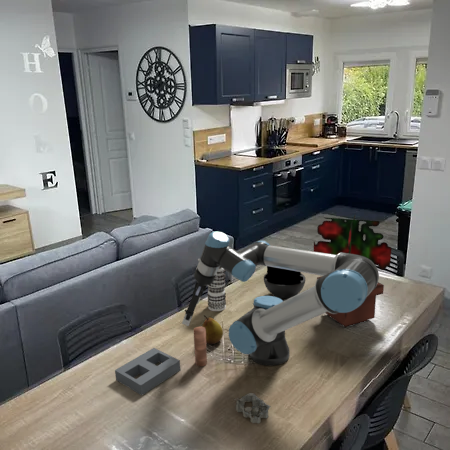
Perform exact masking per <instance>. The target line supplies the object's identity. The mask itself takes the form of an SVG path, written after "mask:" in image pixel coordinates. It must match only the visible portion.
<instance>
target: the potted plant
mask: <svg viewBox="0 0 450 450" xmlns="http://www.w3.org/2000/svg"><path fill="white" fill-rule="evenodd" d="M323 218H324V219H326V220H324V221H322V223H321V224H318V225H317V228H316V229H317V234H318V235H319V236H321V238H322V239H324V240H318V241H317V243H316V242H315V241H313V252H320V253H327V254H334V255H338V254H339V253H341V252H342V253H349V254H356V255H360V256H363V257H366V258H368V259H370V260H371V261H372V262H373V263H374V264H375V266H378V267H377V268H378V270H382V271H384V270H386V269H387V267H390V266H391V261H392V260H391V258H392V247H391V246H389V244H388V243H387V242H385V241H382V240H383V239H384V234H383V233H381V232H375V231H374V229H373V228H371V227H378V226H379V225H380V221H379V220H368V219H367V220H366V219H356V214H354V216H353V218H339V217H338V218H337V217H323ZM361 222H363V223H362V224H361V225H360V223H361ZM364 236H365V237H364ZM326 240H327V241H326ZM379 241H382V242H381V243H380V245H379ZM320 277H322V276H317V277H316V280H317V279H318V278H320ZM384 287H385V285H384V284H383V283H380V282H379V281H378V284H377V286H376V287H375V289H374V290H373V291H372V292H371V293H370V294H369V295H368V296H367V297H366V299H365V300H364V302H363V303H362V304H361V305H360V306H359V307H358V308H356V309H355V310H353V311H351V312H347V313H340V312H339V313H337V314H332V313H329V312H326V313H325V314H326V315H328V316H329V317H330V318H331V319H333V320H334V321H335V322H337V323H338V324H340V325H341V326H343V327H344V328H349V327H352V326H355V325H358V324H362V323H365V322H368V320H372V319H375V316H376V303H377V296H379V295H383V294H384Z"/></svg>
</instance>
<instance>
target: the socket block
mask: <svg viewBox="0 0 450 450" xmlns="http://www.w3.org/2000/svg"><path fill="white" fill-rule="evenodd" d="M158 363H159V365H157V364H158ZM180 371H181V360H180V359H178V358H176V357H173V356H171V355H170V354H167V353H166V352H164V351H162V350H160V349H157V348H156V347H153V348H151V349H149V350H148V351H145V352H144V353H142V354H141V355H139V356H137V357H135V358H133V359H132V360H130V361H129V362H127V363H125V364H123V365H121V366H120V367H118V368H117V369H115V370H114V374H115V381H117V382H119V383H120V384H122V385H124V386H126V387H127V388H129V389H130V390H131V391H133V392H135V393H137V394H138V395H140V396H143V395H145V394H146V393H148V392H149V391H151V390H152V389H153V388H155V387H157V386H159V385H160V384H161V383H163V382H164V381H166V380H168V379H169V378H170V377H172V376H174V375H175V374H177V373H178V372H180ZM138 375H140V376H139V377H137V376H138ZM136 377H137V378H136Z"/></svg>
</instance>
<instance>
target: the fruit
mask: <svg viewBox="0 0 450 450" xmlns="http://www.w3.org/2000/svg"><path fill="white" fill-rule="evenodd" d="M203 317H204V318H205V320H204V322H203V323H202V326H201V327H204V328H205V329H206V345H211V346H213V345H215V344H217V343H219V342H220V341H221V340H222V338H223V335H224V331H223V327H222V326H221V323H219V322H218V321H217V320H215V319H214V318H212V317H207V316H206V315H203Z"/></svg>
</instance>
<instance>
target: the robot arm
mask: <svg viewBox="0 0 450 450" xmlns="http://www.w3.org/2000/svg"><path fill="white" fill-rule="evenodd" d="M204 243H205V244H204V247H203V249H202V253H201V255H200V258H197V262H198V264H197V267H196V269H195V271H194V273H193V277H194V280H195V281H196V282H195V284H194V288H193V291H192V297H191V299H190V301H189V304H188V306H187V309H185V310H184V312H185V314H184V316H183V318H182V321H181V324H182V325H185V326H187V327H189V326H190V324H191V321H192V318H193V317H194V313H195V309H196V307H197V305H198V304H199V303H200V300H201V298H202V296H203V293H204V291H206V289H207V287H208V285H209V284H212V283H213V282H214V279H215V277H216V274H217V272H218V270H219V267H220V266H221V267H222V268H223V269H225V270H226V272H227V273H229V274H230V275H231V276H232V277H233V278H235V279H237V280H239V281H240V282H242V283H245V282H247V281H249V280H250V278H252V277H253V275H254V274H255V271H256V269H257V266H264V267H267V266H270V267H275V268H281V269H287V270H292V271H298V272H301V273H302V274H303V273H304V274H310V275H315V276H316V275H317V276H319V277H320V278H318V279H317V278H316V281H315V284H314V285H313V286H312V287H309V288H308V289H306V290H304V291H302V292H301V291H300V292H299V293H298V294H297V295H295V296H293V297H291V298H286V299H284V300H283V298H279V297H276V296H274V295H273V296H272V295H262V296H261V295H260V296H257V297H255V298H254V299H253V303H252V304H253V306H252V307H253V308H252V309H250V310H249V311H248V312H246V313H245V314H243V315H242V316H241V317H239V318H238V319H236V320H235V321H233V322H232V323H231V325H230V326H229V328H228V339H229V341H230V343H231V345H232V346H233V347H234V348H235V350H237V352H239V353H241V354H243V355H249V358H251V360H252V361H254V362H255V363H257V364H259V365H262V366H279V365H281V364H284V363H285V362H287V361H288V360H289V358H290V347H289V345H288V342H287V339H286V331H287V330H289V329H292V328H293V327H296V326H298V325H300V324H303V323H305V322H307V321H310V320H312V319H314V318H316V317H319V316H321V315H323V314H326V312H329V313H332V314H337V313H339V312H340V313H347V312H351V311H353V310H355V309H356V308H358V307H359V306H360V305H361V304H362V303H363V302H364V300H365V299H366V297H367V296H368V295H369V294H370V293H371V292H372V291H373V290H374V289H375V287H376V286H377V284H378V282H379V279H380V273H379V268H378V267H377V265H375V264H374V263H373V262H372V261H371V260H370V259H368V258H366V257H363V256H360V255H356V254H349V253H342V252H341V253H339V254H338V255H334V254H327V253H320V252H314V250H313V251H311V250H305V249H297V248H289V247H283V246H276V245H271V244H270V243H269V242H267V241H266V240H258V241H255V242H253V243H251V244H250V245H248V246H246V247H244V248H243V249H241V250H239V251H237V250H236V249H234V248H233V247H232V246H230V237H228V235H227V234H226V233H224V232H223V231H212V232H210V233H209V235H208V236H207V239H206V241H204ZM321 276H322V277H321Z"/></svg>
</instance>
